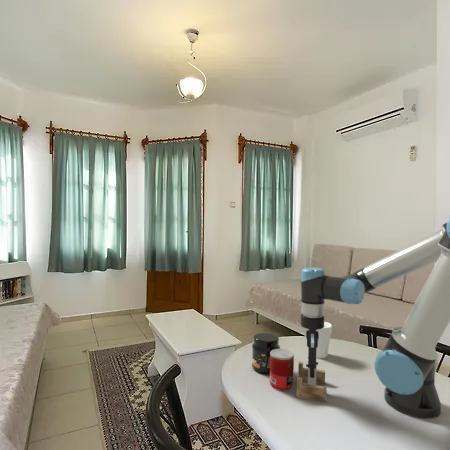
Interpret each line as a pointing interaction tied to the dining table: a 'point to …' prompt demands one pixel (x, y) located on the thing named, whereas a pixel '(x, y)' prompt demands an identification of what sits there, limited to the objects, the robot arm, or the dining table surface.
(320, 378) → the chute
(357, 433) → the dining table surface
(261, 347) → the supplement container
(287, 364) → the canned food
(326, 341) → the foam cup
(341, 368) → the dining table surface
